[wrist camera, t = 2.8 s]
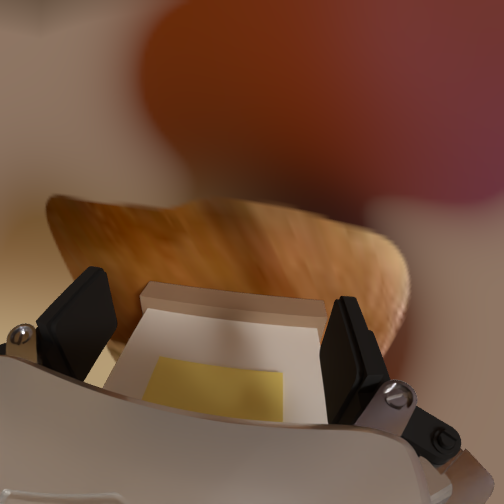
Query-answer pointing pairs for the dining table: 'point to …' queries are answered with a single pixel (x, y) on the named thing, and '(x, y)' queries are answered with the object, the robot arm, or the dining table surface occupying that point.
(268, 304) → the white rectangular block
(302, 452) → the robot arm
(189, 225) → the dining table surface
